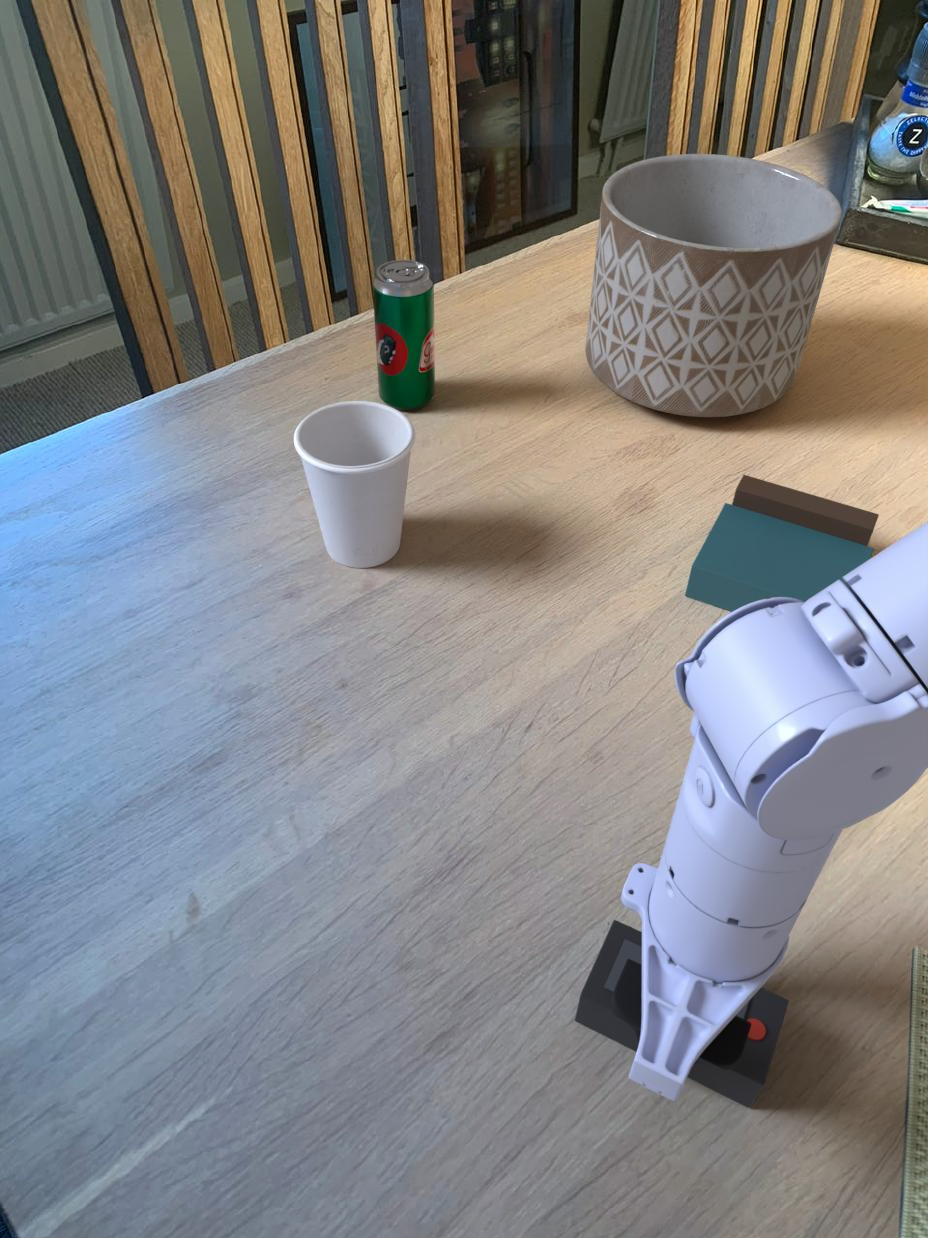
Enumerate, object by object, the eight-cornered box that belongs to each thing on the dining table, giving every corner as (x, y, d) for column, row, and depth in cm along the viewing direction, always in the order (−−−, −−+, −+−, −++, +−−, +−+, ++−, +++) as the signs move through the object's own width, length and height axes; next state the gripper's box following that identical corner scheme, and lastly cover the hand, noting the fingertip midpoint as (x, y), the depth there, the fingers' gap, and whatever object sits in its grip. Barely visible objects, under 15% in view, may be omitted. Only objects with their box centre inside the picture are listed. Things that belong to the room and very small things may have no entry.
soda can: (434, 414, 88) (432, 286, 79) (377, 413, 88) (369, 284, 79) (436, 383, 91) (434, 257, 83) (381, 382, 91) (374, 256, 83)
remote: (774, 1025, 50) (790, 998, 47) (749, 1109, 47) (765, 1084, 45) (607, 946, 53) (614, 917, 50) (574, 1021, 50) (580, 993, 47)
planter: (694, 460, 83) (734, 273, 72) (541, 364, 94) (554, 188, 82) (834, 384, 92) (890, 206, 80) (680, 304, 103) (709, 137, 91)
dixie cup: (300, 517, 77) (286, 407, 70) (405, 501, 79) (401, 392, 72) (316, 588, 72) (302, 477, 65) (429, 570, 73) (427, 459, 66)
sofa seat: (837, 648, 68) (857, 601, 65) (684, 596, 72) (695, 549, 68) (867, 562, 74) (886, 516, 71) (725, 518, 78) (737, 472, 75)
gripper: (697, 699, 45) (653, 860, 54) (571, 972, 36) (545, 1107, 45) (855, 758, 43) (780, 915, 52) (764, 1066, 33) (693, 1187, 43)
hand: (680, 1009), depth 49 cm, fingers closed on remote, 4 cm apart
